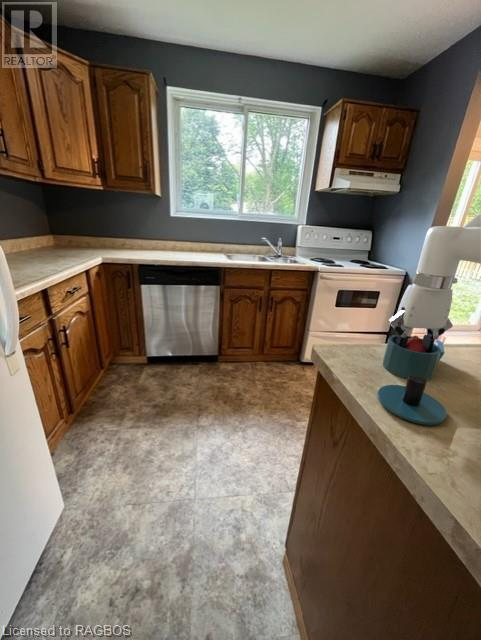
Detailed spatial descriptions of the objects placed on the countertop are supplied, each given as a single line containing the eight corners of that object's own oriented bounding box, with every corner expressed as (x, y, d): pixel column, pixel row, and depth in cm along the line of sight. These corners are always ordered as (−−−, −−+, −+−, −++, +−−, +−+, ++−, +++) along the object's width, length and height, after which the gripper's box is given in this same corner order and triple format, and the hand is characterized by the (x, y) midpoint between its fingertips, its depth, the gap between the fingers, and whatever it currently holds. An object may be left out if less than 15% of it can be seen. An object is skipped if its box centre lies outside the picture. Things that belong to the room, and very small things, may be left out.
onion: (399, 355, 75) (407, 329, 72) (423, 363, 71) (432, 335, 68) (393, 362, 71) (400, 334, 68) (418, 371, 67) (427, 342, 65)
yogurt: (425, 356, 81) (437, 339, 78) (430, 359, 80) (442, 342, 77) (424, 369, 71) (438, 350, 68) (430, 372, 70) (444, 353, 68)
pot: (415, 360, 77) (423, 336, 74) (442, 382, 66) (452, 355, 64) (375, 357, 77) (381, 333, 75) (395, 380, 66) (403, 352, 64)
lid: (421, 390, 63) (429, 365, 60) (460, 429, 51) (472, 399, 49) (367, 387, 63) (373, 362, 60) (393, 425, 51) (402, 395, 49)
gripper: (458, 280, 67) (436, 346, 73) (388, 276, 67) (372, 342, 74) (482, 287, 60) (456, 359, 66) (404, 283, 60) (385, 355, 66)
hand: (412, 350), depth 70 cm, fingers closed on onion, 5 cm apart
